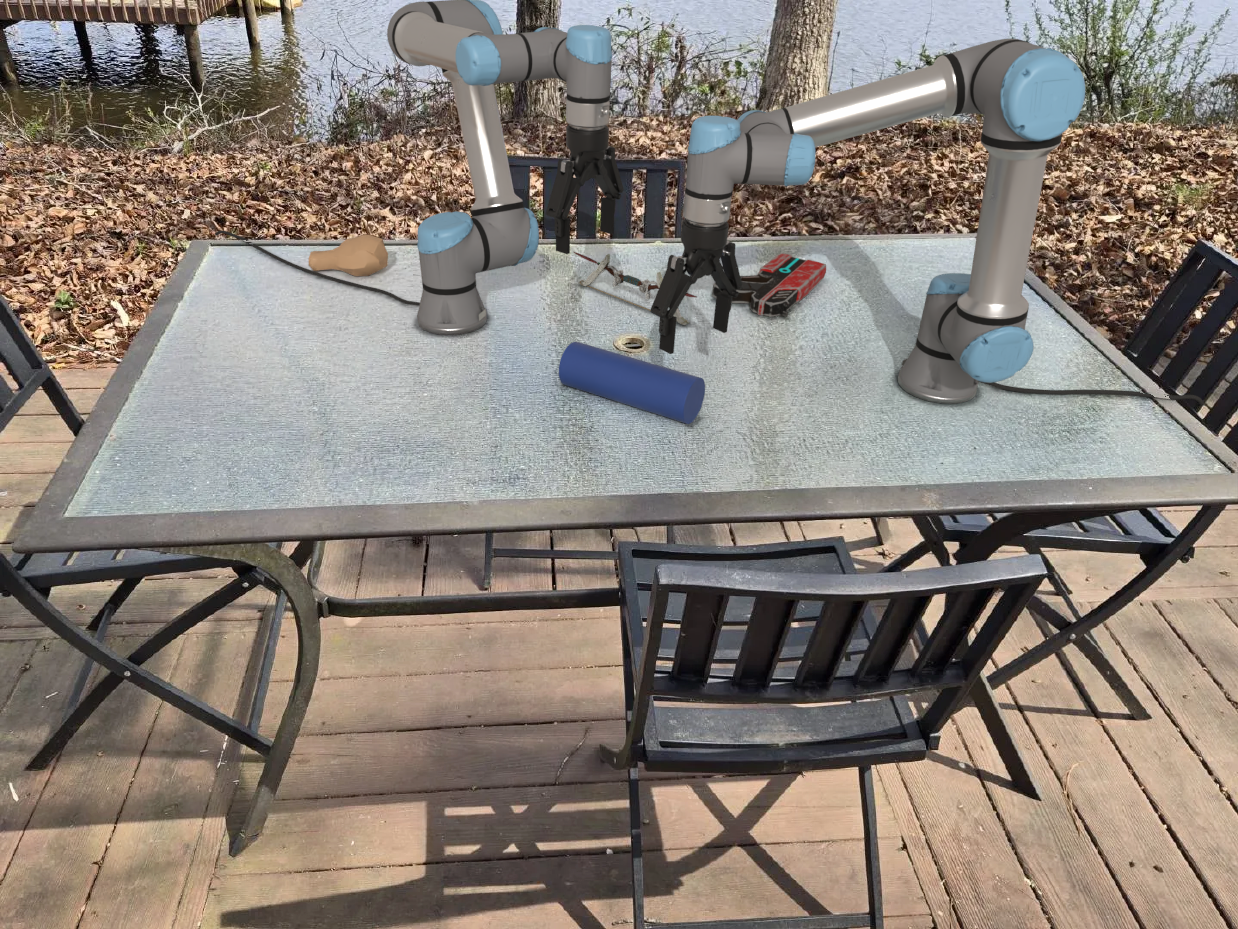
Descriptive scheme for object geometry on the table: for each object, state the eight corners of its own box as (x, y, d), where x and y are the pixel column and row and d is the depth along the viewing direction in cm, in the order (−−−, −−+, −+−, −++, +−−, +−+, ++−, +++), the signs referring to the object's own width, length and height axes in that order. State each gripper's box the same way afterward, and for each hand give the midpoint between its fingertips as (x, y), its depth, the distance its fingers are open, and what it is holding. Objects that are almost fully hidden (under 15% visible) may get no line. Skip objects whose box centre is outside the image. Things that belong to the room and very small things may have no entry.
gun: (708, 284, 207) (784, 305, 199) (760, 245, 229) (831, 262, 221) (706, 302, 209) (781, 323, 201) (758, 261, 231) (828, 278, 223)
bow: (697, 327, 197) (701, 285, 192) (692, 329, 196) (696, 287, 191) (576, 279, 219) (576, 241, 213) (571, 281, 218) (571, 242, 212)
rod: (558, 392, 171) (558, 351, 166) (583, 374, 178) (583, 334, 173) (681, 431, 160) (685, 389, 155) (703, 411, 166) (707, 370, 162)
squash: (388, 280, 216) (377, 247, 210) (309, 287, 218) (296, 255, 212) (396, 257, 224) (386, 225, 218) (320, 264, 226) (308, 233, 219)
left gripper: (559, 143, 143) (559, 266, 155) (645, 115, 160) (639, 228, 172) (524, 134, 147) (526, 255, 159) (612, 108, 163) (608, 219, 176)
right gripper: (668, 241, 131) (658, 368, 143) (773, 211, 146) (756, 328, 157) (633, 228, 136) (626, 352, 147) (738, 200, 150) (725, 315, 162)
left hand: (585, 241), depth 165 cm, fingers open, 13 cm apart
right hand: (693, 340), depth 152 cm, fingers open, 13 cm apart
